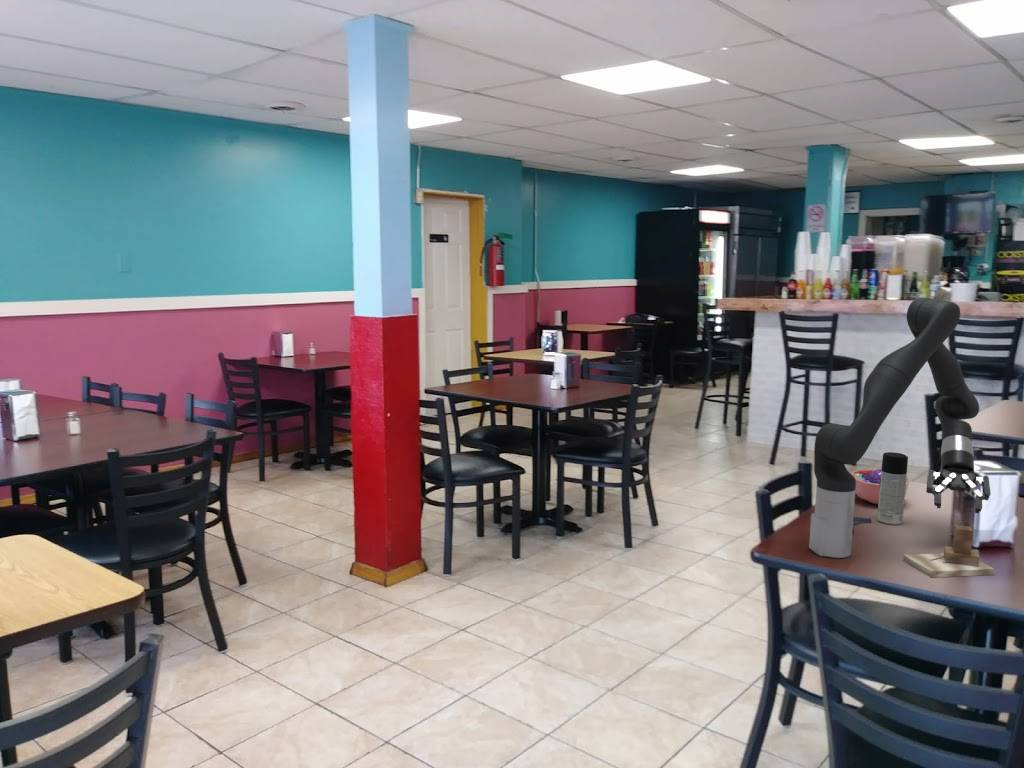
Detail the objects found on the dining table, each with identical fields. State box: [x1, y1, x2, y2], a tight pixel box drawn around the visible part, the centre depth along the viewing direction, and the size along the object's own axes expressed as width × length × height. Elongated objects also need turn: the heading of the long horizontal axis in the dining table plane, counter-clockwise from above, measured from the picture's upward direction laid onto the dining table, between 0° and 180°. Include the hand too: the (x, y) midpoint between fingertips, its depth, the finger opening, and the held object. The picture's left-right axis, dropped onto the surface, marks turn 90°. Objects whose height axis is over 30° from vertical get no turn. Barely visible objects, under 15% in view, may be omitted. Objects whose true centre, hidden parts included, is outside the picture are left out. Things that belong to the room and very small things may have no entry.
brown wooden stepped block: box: [943, 524, 980, 567], centre depth 192 cm, size 7×5×8 cm
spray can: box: [877, 451, 909, 526], centre depth 226 cm, size 7×7×20 cm
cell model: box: [850, 468, 911, 505], centre depth 246 cm, size 17×20×11 cm
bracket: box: [852, 516, 872, 536], centre depth 223 cm, size 14×15×3 cm
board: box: [902, 552, 995, 578], centre depth 192 cm, size 16×11×2 cm
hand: (958, 509), depth 199 cm, fingers open, 8 cm apart
